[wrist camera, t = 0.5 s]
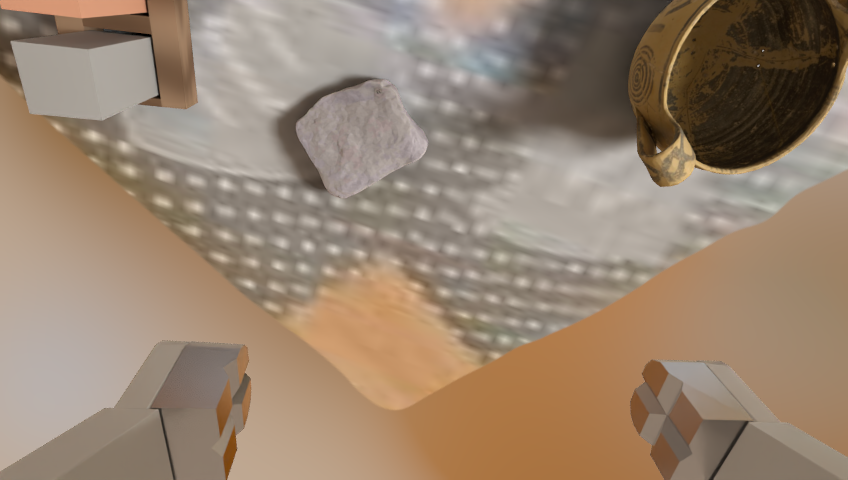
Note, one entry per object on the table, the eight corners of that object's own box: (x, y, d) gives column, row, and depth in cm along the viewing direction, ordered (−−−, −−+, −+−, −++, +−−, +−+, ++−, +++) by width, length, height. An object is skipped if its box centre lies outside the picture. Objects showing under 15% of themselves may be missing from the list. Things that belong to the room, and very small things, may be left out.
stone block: (291, 120, 50) (341, 199, 53) (278, 122, 46) (333, 209, 48) (386, 62, 49) (433, 147, 51) (382, 58, 44) (434, 152, 47)
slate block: (91, 30, 41) (10, 40, 32) (151, 37, 42) (87, 49, 33) (102, 88, 43) (29, 113, 35) (159, 94, 44) (102, 120, 35)
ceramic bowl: (616, 185, 55) (690, 248, 41) (550, 59, 47) (614, 85, 34) (807, 69, 50) (960, 98, 36) (766, -92, 42) (938, -129, 29)
